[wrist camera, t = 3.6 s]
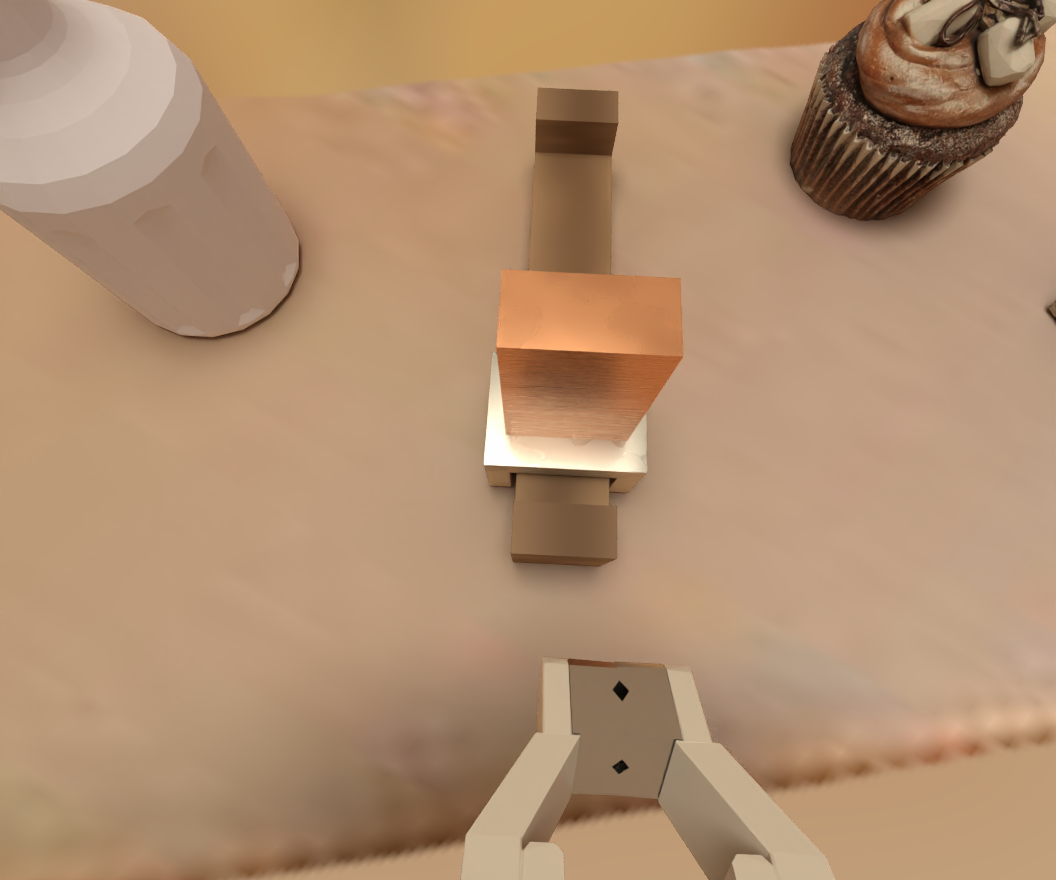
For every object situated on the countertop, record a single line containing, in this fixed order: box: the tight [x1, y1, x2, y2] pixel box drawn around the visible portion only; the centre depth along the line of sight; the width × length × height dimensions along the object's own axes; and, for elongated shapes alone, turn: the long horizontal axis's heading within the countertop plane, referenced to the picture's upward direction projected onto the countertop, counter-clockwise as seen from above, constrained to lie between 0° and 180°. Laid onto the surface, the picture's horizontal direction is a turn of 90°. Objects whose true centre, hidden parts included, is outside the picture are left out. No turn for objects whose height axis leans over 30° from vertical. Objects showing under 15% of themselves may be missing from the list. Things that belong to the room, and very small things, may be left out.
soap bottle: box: [0, 0, 299, 337], centre depth 18 cm, size 9×9×25 cm
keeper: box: [484, 270, 683, 493], centre depth 20 cm, size 7×5×12 cm
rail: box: [511, 88, 618, 566], centre depth 26 cm, size 4×23×5 cm, turn 177°
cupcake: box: [790, 0, 1056, 221], centre depth 27 cm, size 10×10×10 cm
